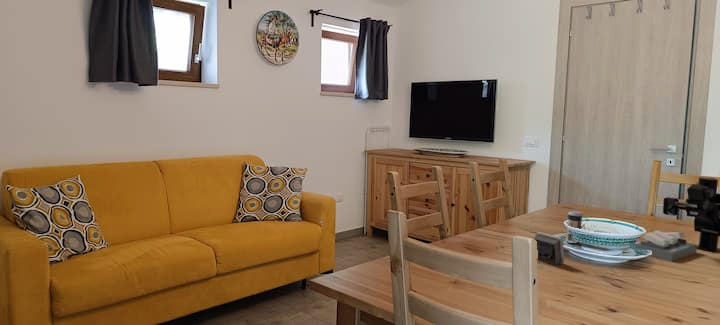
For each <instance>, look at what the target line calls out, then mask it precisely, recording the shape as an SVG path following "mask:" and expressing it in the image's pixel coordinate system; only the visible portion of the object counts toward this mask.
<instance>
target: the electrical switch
mask: <svg viewBox="0 0 720 325" xmlns="http://www.w3.org/2000/svg"><path fill="white" fill-rule="evenodd" d="M533 239H535V240H536V241H537V250H538V260H537V261H540V262H544V263H547V264H551V265H554V266H557V265H559V264H560V265H563V264H564V262H565V253H564V240H563V238H562V237H559V236H555V235H553V234H547V233H544V232H540V231H538V232H535V237H533V238H532V240H533Z"/></svg>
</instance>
